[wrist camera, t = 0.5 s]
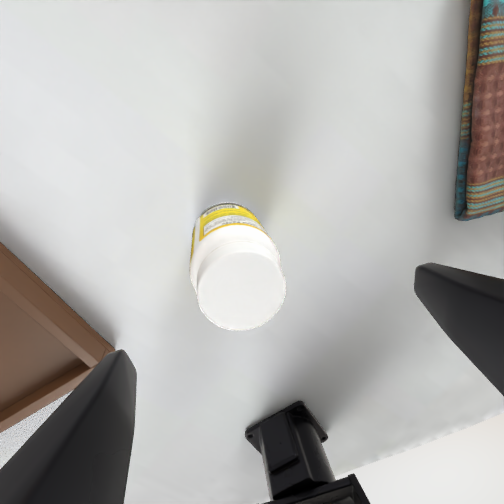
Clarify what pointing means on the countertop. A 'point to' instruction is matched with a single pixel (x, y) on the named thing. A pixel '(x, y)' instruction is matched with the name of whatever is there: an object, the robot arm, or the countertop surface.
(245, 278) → the supplement bottle
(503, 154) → the dish towel
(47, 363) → the tray
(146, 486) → the countertop surface
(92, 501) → the robot arm
